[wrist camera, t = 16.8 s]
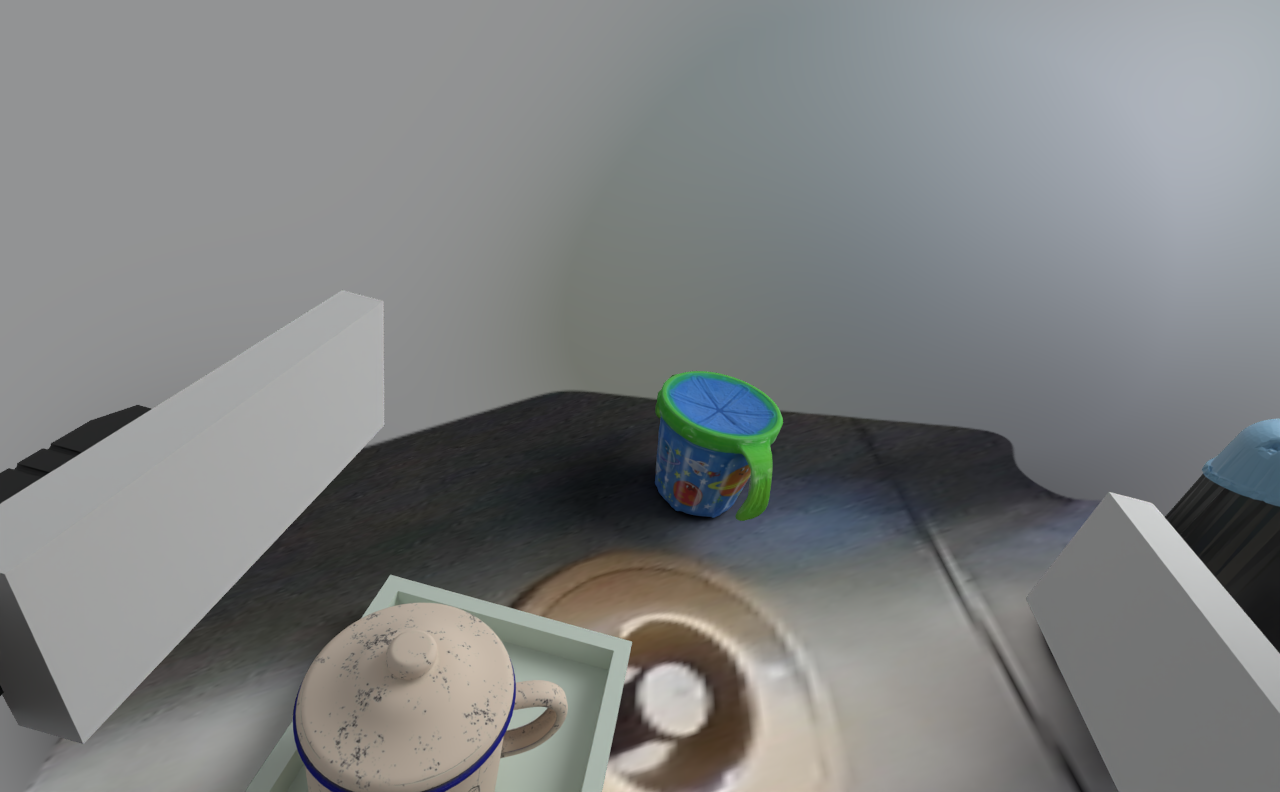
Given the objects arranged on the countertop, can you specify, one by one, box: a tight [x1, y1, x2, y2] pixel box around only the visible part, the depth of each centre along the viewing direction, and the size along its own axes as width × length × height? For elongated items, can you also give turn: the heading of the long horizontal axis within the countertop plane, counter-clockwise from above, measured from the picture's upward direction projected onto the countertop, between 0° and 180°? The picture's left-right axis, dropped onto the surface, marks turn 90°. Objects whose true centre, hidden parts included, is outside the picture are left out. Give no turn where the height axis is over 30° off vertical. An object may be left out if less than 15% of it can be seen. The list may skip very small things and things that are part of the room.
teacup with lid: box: [293, 603, 568, 792], centre depth 29 cm, size 12×9×12 cm
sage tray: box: [245, 575, 632, 792], centre depth 32 cm, size 16×20×3 cm
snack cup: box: [655, 371, 783, 521], centre depth 56 cm, size 16×10×10 cm
